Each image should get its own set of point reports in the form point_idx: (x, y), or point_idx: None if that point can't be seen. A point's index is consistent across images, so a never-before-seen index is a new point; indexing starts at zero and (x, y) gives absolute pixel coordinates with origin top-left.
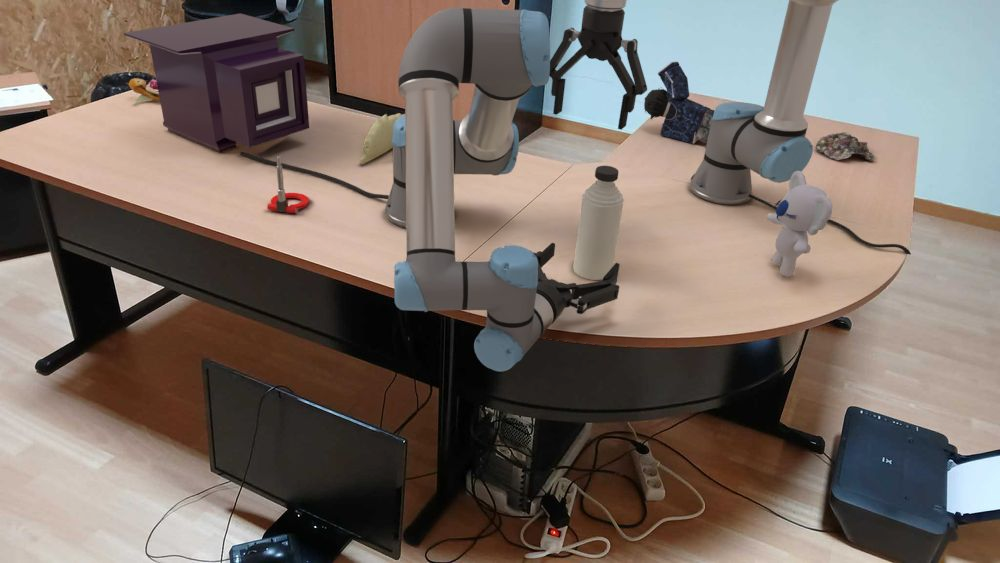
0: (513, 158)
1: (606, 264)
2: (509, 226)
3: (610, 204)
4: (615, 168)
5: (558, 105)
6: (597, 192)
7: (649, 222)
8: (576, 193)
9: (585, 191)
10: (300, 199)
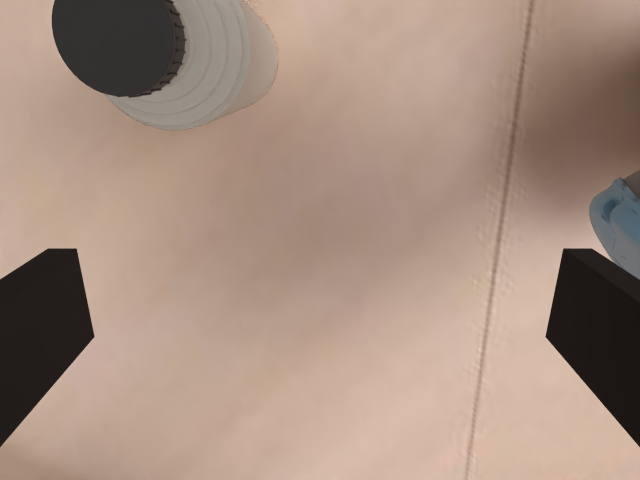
0: (616, 205)
1: None
2: (497, 153)
3: None
4: (90, 82)
5: (598, 295)
6: None
7: (212, 350)
8: (408, 390)
9: (234, 23)
10: None
